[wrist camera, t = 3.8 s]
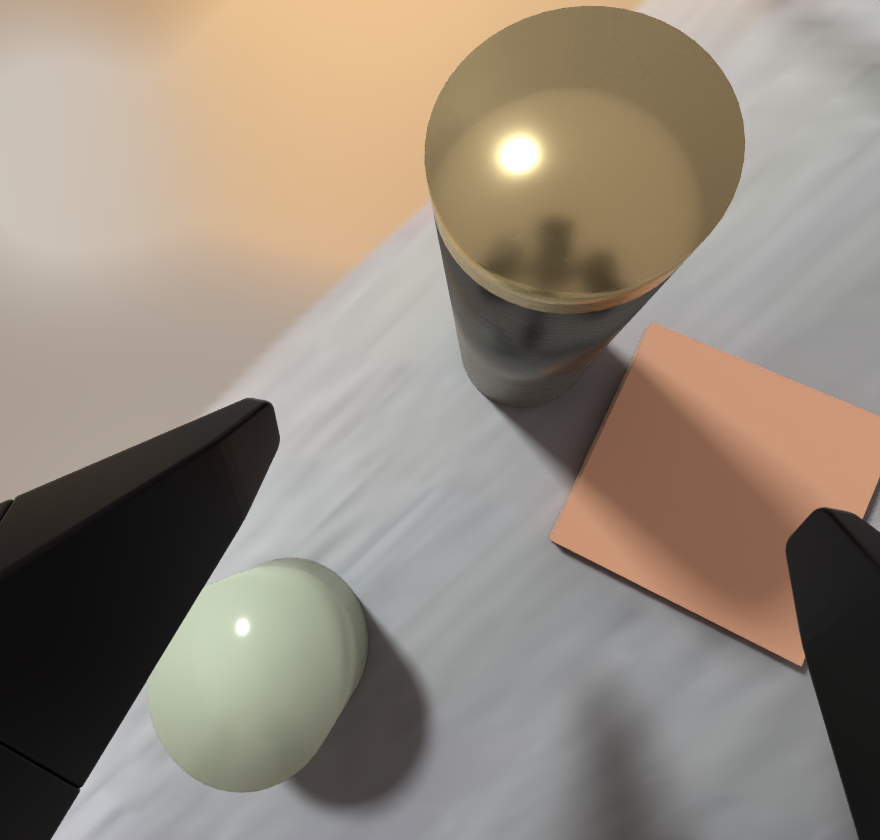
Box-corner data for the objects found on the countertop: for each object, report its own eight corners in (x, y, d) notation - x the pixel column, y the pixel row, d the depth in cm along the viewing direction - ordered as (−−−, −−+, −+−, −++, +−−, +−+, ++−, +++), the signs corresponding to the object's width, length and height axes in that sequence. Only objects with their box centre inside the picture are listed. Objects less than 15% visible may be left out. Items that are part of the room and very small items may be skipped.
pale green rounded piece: (322, 758, 19) (279, 834, 15) (186, 675, 20) (112, 725, 16) (396, 604, 19) (373, 637, 15) (259, 530, 20) (205, 543, 16)
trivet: (787, 658, 17) (801, 666, 17) (548, 537, 19) (551, 540, 18) (883, 427, 18) (900, 425, 17) (645, 328, 20) (652, 322, 19)
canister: (552, 427, 19) (665, 343, 7) (441, 376, 20) (372, 221, 8) (603, 318, 20) (796, 60, 8) (492, 272, 21) (503, -29, 8)
